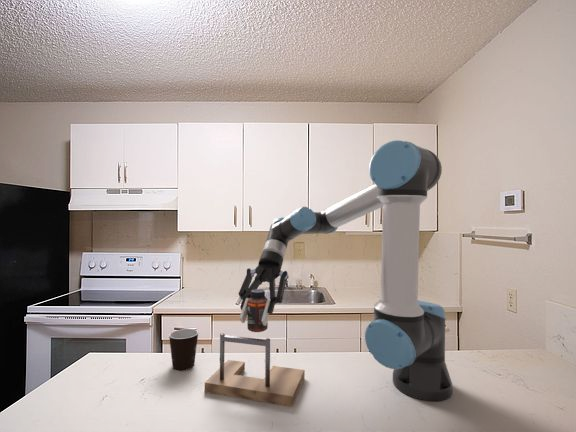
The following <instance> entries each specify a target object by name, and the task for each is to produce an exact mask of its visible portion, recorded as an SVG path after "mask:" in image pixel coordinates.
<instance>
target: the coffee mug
mask: <svg viewBox="0 0 576 432" xmlns="http://www.w3.org/2000/svg"><path fill="white" fill-rule="evenodd" d="M168 336H169V337H168V338H169V345H170V346H169V347H170V355H171V363H172V369H173V370H174V371H177V372H183V371H188V370H191V369H192V368H193V367H195V361H196V354H197V353H196V352H197V346H198V337H199V331H198V330H197V329H194V328H181V329H178V330H174V331H172V332H170V333H169V334H168Z"/></svg>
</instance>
